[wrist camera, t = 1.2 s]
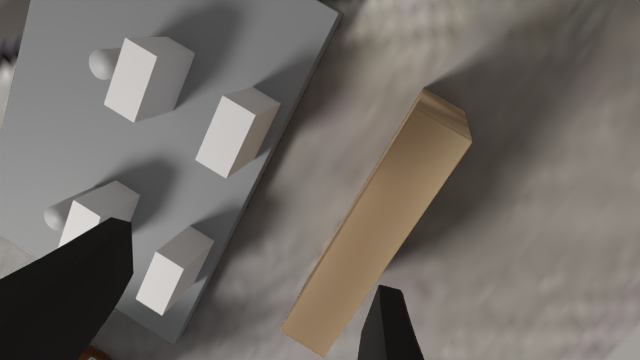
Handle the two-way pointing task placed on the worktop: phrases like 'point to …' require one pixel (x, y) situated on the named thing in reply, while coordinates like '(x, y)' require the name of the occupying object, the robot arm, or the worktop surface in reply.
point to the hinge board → (152, 130)
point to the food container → (93, 354)
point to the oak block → (379, 220)
